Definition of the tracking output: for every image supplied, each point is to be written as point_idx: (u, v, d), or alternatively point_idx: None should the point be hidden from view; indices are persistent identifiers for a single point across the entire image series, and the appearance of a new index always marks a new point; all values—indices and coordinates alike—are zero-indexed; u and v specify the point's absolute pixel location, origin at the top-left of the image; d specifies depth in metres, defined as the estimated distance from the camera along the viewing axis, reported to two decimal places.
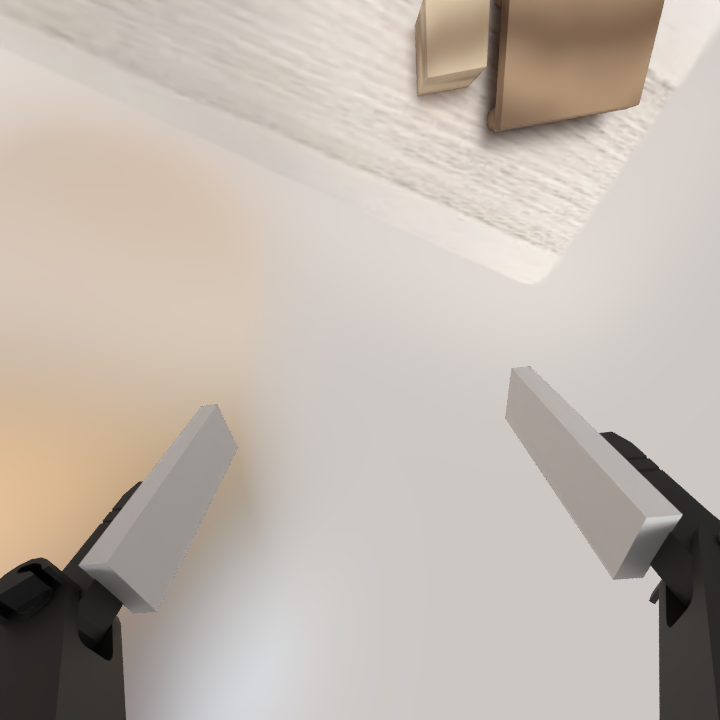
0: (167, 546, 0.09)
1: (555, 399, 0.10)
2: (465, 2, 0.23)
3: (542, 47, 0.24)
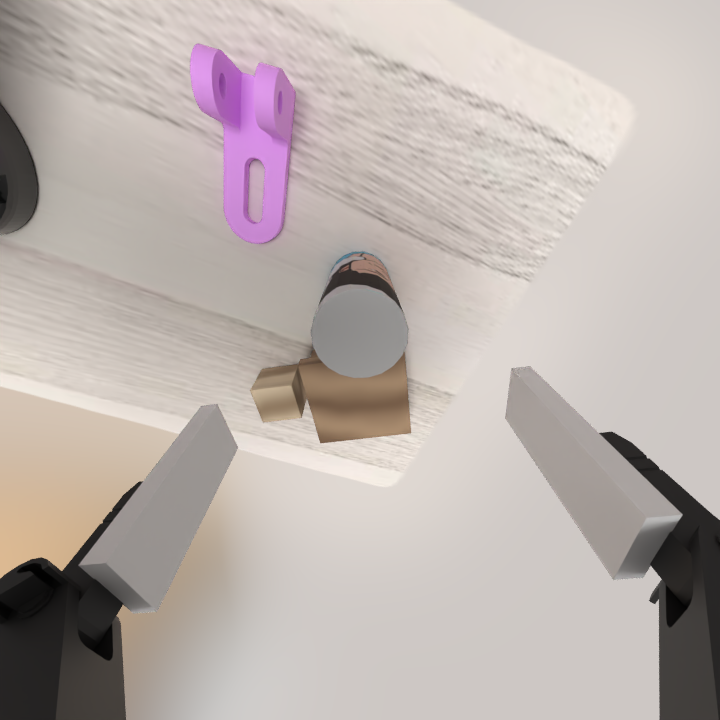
0: (167, 546, 0.09)
1: (555, 399, 0.10)
2: (277, 393, 0.35)
3: (335, 411, 0.36)
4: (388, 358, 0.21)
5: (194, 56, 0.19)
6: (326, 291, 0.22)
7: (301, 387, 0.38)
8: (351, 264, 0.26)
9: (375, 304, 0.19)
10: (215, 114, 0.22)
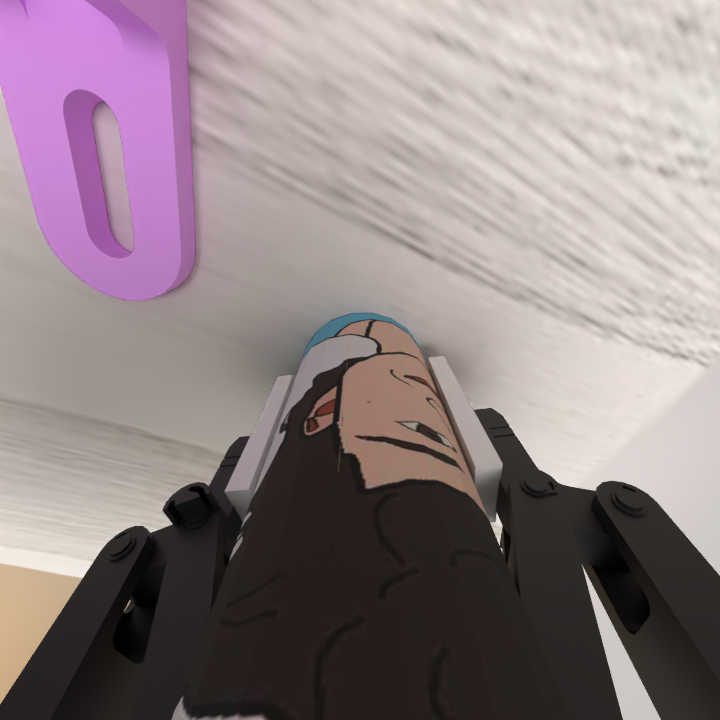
0: None
1: (451, 382, 0.12)
2: None
3: None
4: None
5: None
6: (229, 594, 0.05)
7: None
8: (343, 389, 0.09)
9: None
10: None
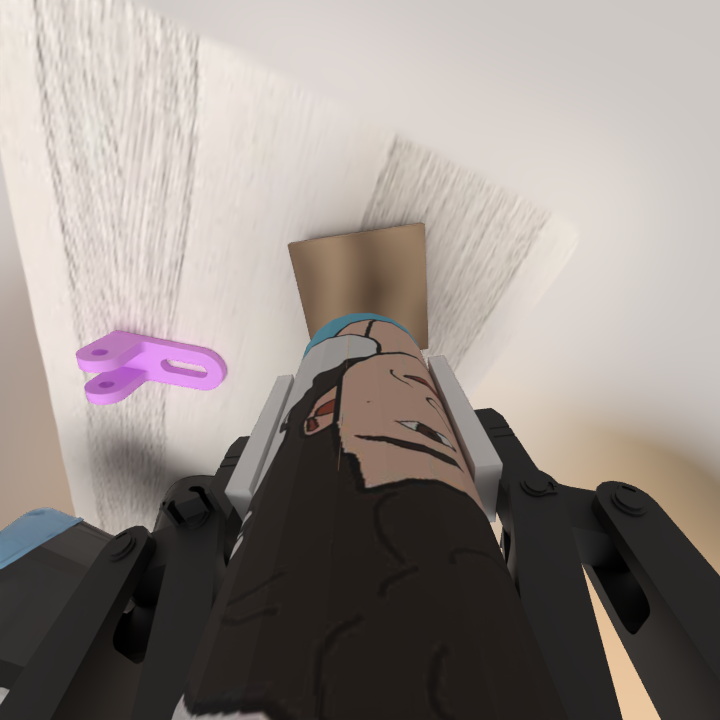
0: None
1: (451, 382, 0.12)
2: None
3: None
4: None
5: (89, 400, 0.32)
6: (229, 592, 0.05)
7: None
8: (342, 388, 0.09)
9: None
10: (122, 392, 0.33)
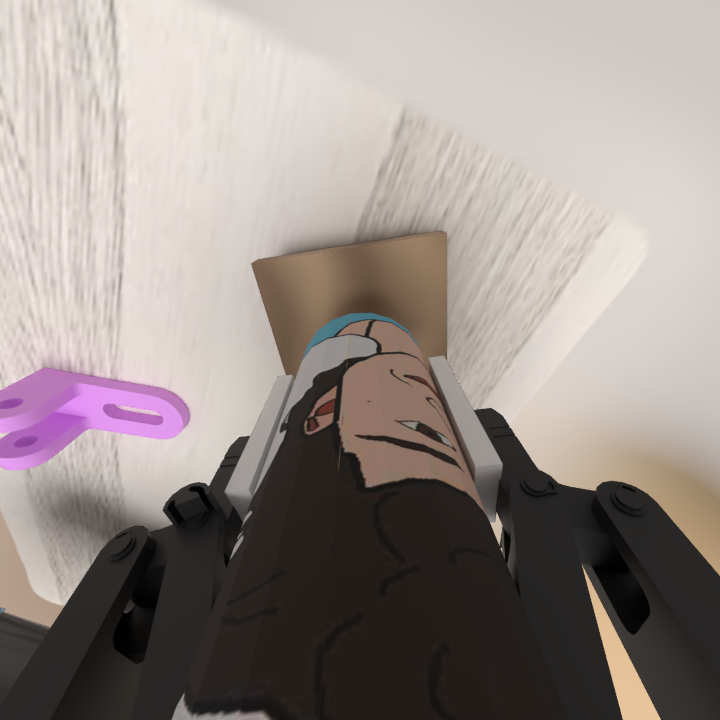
0: None
1: (451, 381, 0.12)
2: None
3: None
4: None
5: None
6: (230, 592, 0.05)
7: None
8: (343, 388, 0.09)
9: None
10: (46, 451, 0.25)
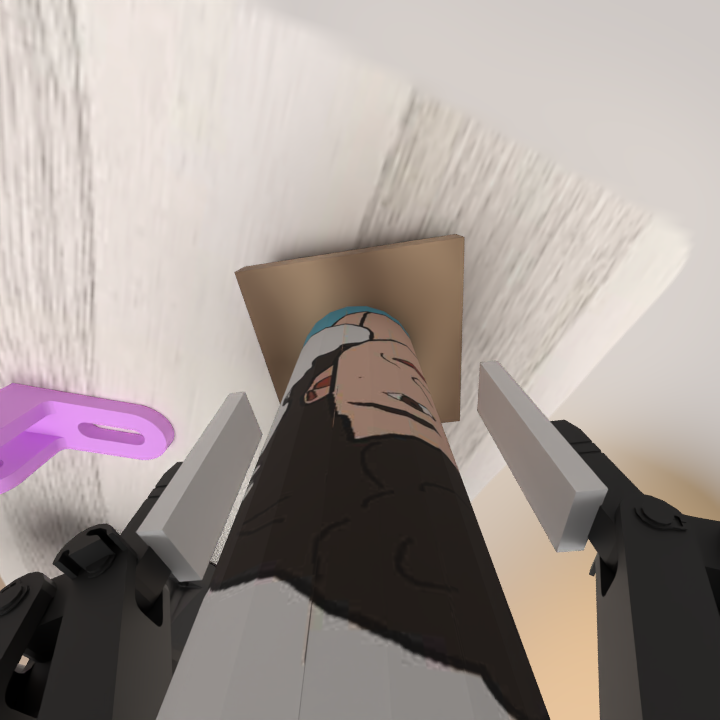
0: (208, 520, 0.10)
1: (515, 390, 0.11)
2: None
3: None
4: None
5: None
6: (244, 517, 0.06)
7: None
8: (338, 367, 0.10)
9: None
10: (12, 477, 0.23)
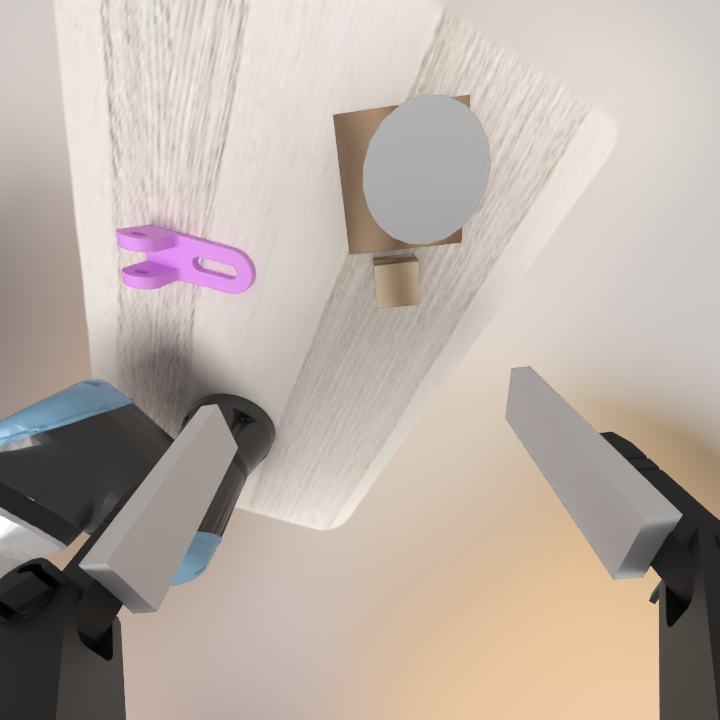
0: (167, 546, 0.09)
1: (555, 399, 0.10)
2: (383, 281, 0.33)
3: None
4: (457, 215, 0.16)
5: (125, 283, 0.33)
6: None
7: (395, 257, 0.35)
8: None
9: (453, 123, 0.14)
10: (156, 280, 0.34)
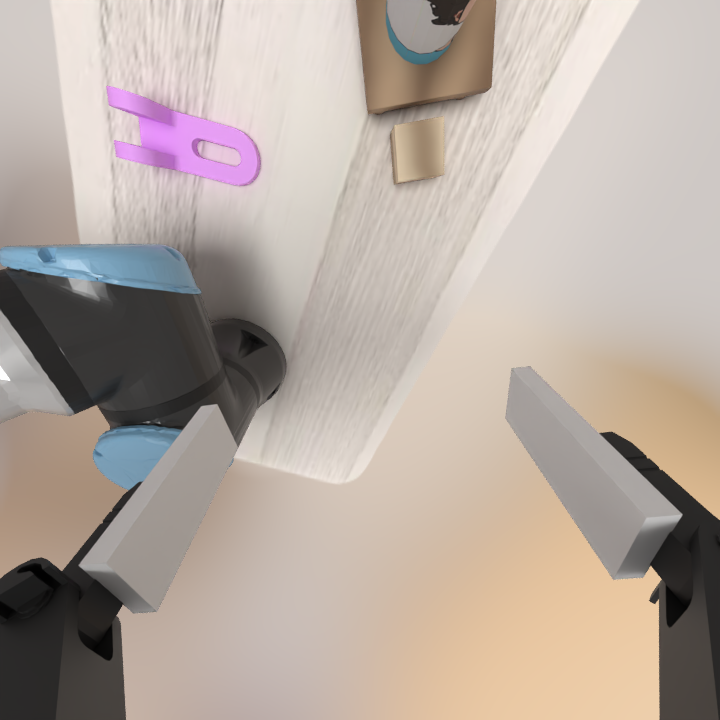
0: (167, 546, 0.09)
1: (555, 399, 0.10)
2: (405, 146, 0.30)
3: None
4: None
5: (118, 155, 0.29)
6: None
7: None
8: None
9: None
10: (153, 155, 0.30)
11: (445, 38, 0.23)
